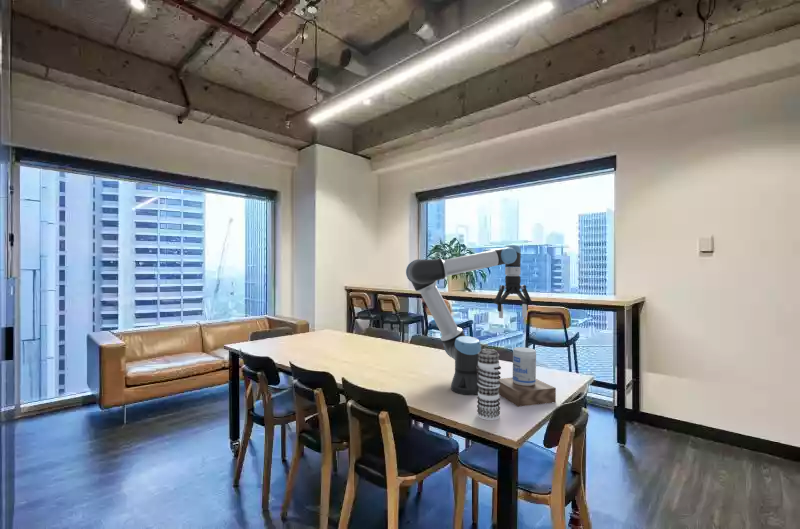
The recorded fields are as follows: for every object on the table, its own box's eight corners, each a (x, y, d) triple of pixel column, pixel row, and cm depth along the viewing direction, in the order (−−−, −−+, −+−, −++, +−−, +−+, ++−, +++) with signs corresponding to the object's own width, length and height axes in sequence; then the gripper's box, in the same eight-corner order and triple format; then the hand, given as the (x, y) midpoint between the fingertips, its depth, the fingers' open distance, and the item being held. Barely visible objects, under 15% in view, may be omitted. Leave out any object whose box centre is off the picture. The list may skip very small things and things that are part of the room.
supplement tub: (510, 384, 164) (510, 350, 164) (514, 378, 172) (514, 346, 172) (534, 388, 159) (534, 352, 159) (537, 381, 168) (537, 348, 168)
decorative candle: (495, 410, 151) (495, 346, 151) (505, 419, 141) (505, 352, 141) (472, 411, 149) (473, 347, 149) (481, 421, 140) (481, 353, 140)
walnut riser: (517, 406, 155) (517, 391, 155) (494, 392, 172) (494, 379, 172) (555, 402, 159) (555, 387, 160) (529, 388, 177) (529, 375, 177)
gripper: (494, 275, 187) (494, 319, 187) (538, 275, 194) (538, 317, 194) (487, 275, 194) (487, 317, 194) (529, 275, 201) (529, 315, 201)
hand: (512, 317), depth 194 cm, fingers open, 13 cm apart
